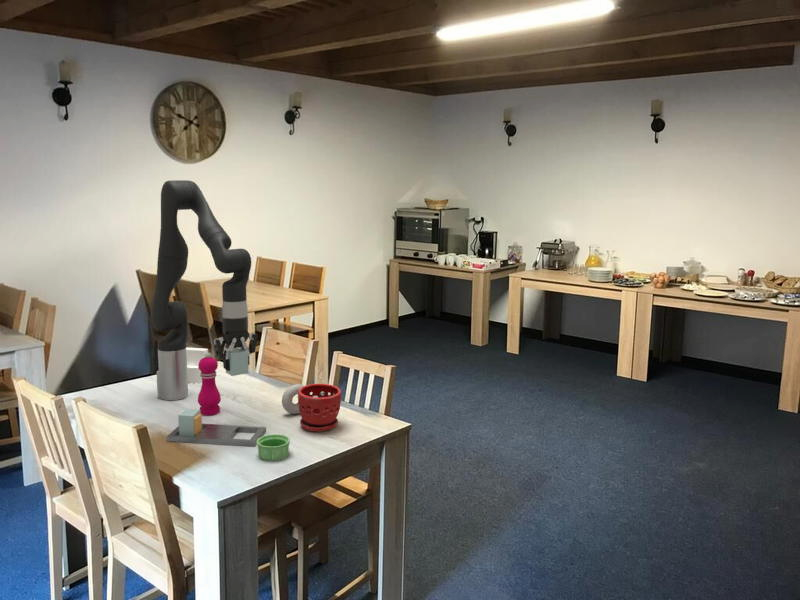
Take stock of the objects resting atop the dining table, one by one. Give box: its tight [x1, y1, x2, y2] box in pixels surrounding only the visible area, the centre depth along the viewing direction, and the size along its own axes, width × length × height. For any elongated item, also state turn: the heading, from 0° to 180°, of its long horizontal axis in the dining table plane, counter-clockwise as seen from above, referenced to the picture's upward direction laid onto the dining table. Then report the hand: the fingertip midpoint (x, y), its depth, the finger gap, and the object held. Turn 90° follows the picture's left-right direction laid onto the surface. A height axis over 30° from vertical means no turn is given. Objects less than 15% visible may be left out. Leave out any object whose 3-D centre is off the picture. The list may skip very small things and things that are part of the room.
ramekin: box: [256, 433, 291, 461], centre depth 181 cm, size 9×9×4 cm
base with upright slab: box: [186, 346, 209, 385], centre depth 244 cm, size 9×9×12 cm
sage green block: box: [177, 408, 203, 436], centre depth 193 cm, size 5×5×7 cm
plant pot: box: [297, 383, 342, 433], centre depth 201 cm, size 13×13×12 cm
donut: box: [281, 383, 305, 415], centre depth 212 cm, size 10×4×10 cm, turn 126°
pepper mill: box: [197, 352, 222, 416], centre depth 211 cm, size 7×7×20 cm
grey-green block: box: [225, 347, 249, 377], centre depth 201 cm, size 5×5×7 cm
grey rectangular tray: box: [166, 423, 267, 448], centre depth 193 cm, size 26×11×2 cm, turn 84°
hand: (236, 368), depth 201 cm, fingers closed on grey-green block, 5 cm apart
